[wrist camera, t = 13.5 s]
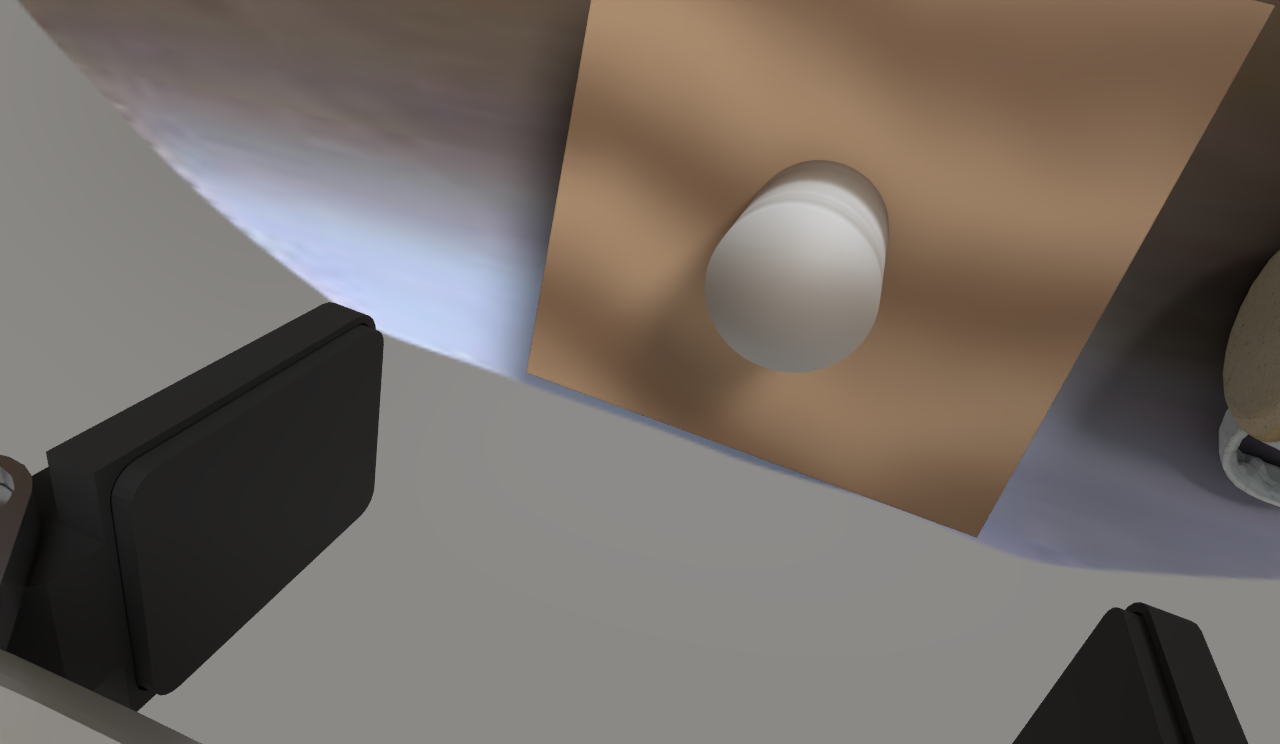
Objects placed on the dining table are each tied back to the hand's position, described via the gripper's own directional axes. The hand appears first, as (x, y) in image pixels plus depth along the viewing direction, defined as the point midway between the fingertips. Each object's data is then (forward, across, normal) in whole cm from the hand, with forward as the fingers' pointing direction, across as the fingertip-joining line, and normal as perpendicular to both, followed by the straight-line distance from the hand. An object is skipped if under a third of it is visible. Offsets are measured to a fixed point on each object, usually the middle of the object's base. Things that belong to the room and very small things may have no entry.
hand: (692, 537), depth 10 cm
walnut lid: (+16, 0, 0) cm, 16 cm away
